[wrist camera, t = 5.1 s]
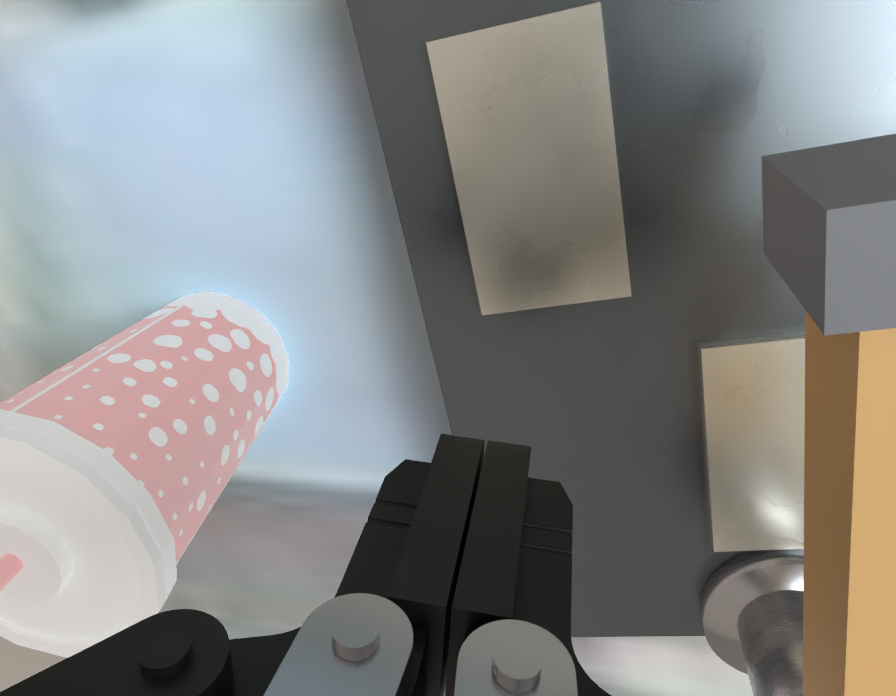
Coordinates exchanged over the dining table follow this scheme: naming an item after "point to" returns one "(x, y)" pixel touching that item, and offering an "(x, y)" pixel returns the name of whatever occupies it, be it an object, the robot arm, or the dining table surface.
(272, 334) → the beverage cup
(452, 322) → the grey rectangular block
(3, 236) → the dining table surface
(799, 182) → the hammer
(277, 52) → the dining table surface
